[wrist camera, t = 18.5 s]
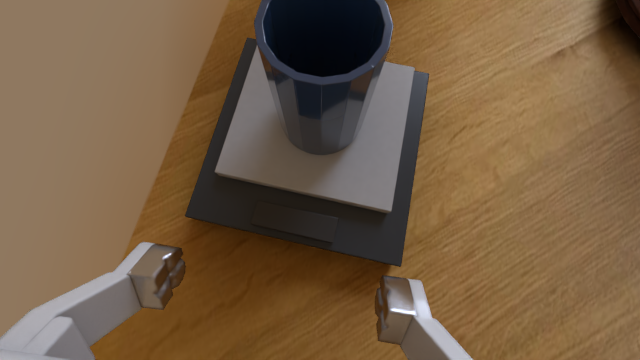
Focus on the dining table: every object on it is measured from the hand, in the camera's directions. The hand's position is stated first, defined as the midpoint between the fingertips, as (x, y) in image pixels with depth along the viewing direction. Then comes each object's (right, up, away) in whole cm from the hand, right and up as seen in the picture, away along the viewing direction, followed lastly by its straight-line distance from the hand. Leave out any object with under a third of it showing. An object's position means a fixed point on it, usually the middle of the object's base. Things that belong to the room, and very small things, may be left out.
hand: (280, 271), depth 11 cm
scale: (+1, +6, +13) cm, 14 cm away
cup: (+2, +9, +10) cm, 13 cm away
